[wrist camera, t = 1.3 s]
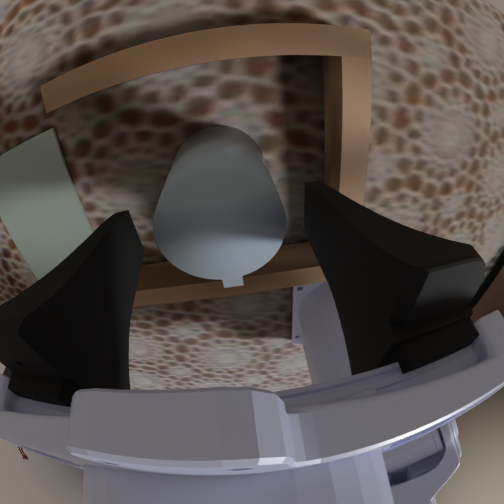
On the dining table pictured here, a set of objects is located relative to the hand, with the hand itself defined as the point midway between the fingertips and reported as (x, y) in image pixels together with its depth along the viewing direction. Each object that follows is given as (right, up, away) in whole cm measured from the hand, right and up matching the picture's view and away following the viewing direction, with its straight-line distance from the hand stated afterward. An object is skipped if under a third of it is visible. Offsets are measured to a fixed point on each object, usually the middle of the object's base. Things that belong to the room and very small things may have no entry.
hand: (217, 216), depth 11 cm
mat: (-13, +1, +4) cm, 14 cm away
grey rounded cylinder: (0, +3, +4) cm, 5 cm away
